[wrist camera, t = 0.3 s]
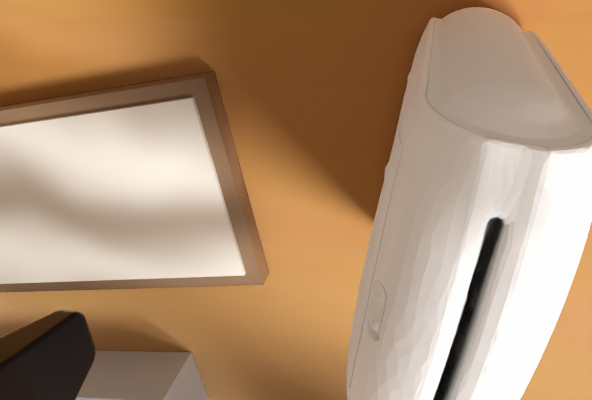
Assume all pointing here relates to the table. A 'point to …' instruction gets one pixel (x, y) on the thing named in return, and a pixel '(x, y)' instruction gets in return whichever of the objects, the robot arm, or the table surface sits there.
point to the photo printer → (473, 218)
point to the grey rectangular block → (143, 377)
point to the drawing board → (125, 191)
